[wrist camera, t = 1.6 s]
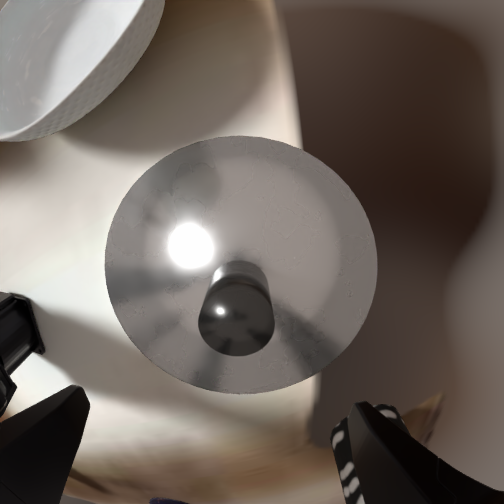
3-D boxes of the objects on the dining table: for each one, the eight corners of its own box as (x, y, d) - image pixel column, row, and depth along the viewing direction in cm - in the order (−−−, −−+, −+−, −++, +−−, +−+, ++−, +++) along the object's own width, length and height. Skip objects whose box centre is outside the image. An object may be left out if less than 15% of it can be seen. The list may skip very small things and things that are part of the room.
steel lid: (348, 379, 23) (368, 426, 17) (134, 376, 23) (112, 422, 17) (380, 149, 18) (429, 143, 12) (104, 147, 17) (54, 142, 11)
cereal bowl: (209, -29, 13) (196, -82, 6) (150, 152, 17) (98, 143, 11) (54, -4, 12) (18, -29, 5) (3, 143, 16) (-50, 145, 10)
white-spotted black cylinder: (403, 424, 25) (459, 548, 6) (344, 455, 26) (376, 584, 7) (388, 392, 23) (463, 549, 4) (318, 429, 24) (351, 594, 5)
